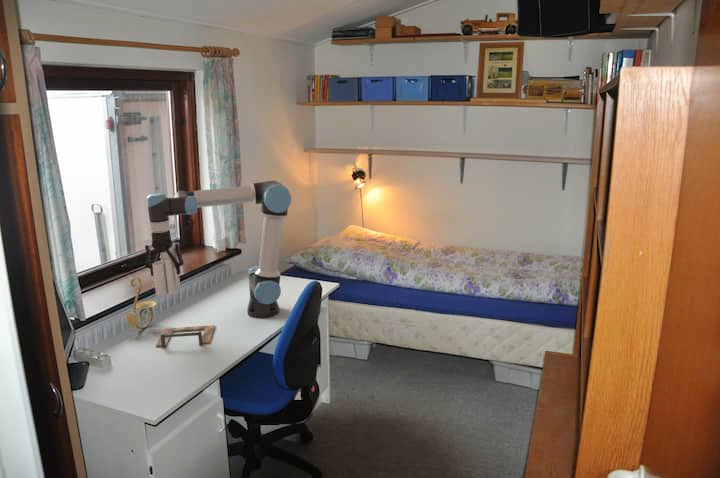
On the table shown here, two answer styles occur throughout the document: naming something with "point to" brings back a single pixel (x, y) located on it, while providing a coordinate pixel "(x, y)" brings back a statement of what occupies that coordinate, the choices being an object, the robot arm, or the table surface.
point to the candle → (165, 274)
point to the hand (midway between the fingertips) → (166, 282)
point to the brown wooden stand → (187, 334)
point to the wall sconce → (131, 317)
